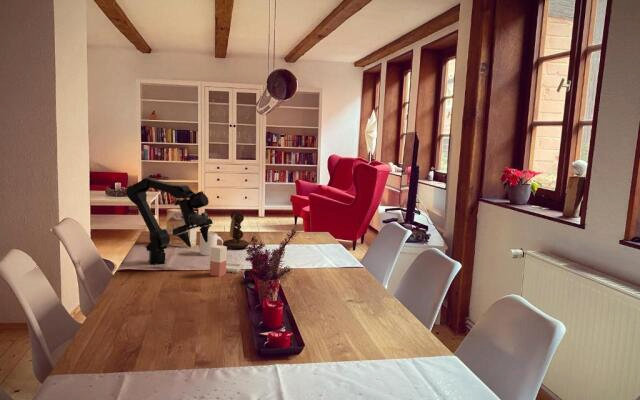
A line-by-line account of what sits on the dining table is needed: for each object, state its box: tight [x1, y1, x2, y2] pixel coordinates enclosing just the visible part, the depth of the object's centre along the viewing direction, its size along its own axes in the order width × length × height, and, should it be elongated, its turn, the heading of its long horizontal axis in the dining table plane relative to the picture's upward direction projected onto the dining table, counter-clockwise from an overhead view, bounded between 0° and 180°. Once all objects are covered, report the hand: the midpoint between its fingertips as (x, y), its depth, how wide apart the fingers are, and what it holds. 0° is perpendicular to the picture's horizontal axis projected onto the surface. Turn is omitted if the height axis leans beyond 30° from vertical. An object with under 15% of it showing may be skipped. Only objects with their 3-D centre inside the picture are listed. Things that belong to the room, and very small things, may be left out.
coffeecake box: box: [165, 208, 198, 249], centre depth 267 cm, size 15×7×20 cm, turn 73°
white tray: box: [226, 262, 244, 274], centre depth 225 cm, size 10×10×2 cm
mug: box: [199, 231, 224, 257], centre depth 252 cm, size 9×12×11 cm
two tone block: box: [209, 244, 228, 277], centre depth 215 cm, size 5×5×12 cm
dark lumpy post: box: [223, 210, 250, 250], centre depth 271 cm, size 15×15×20 cm
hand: (198, 244), depth 221 cm, fingers open, 9 cm apart
